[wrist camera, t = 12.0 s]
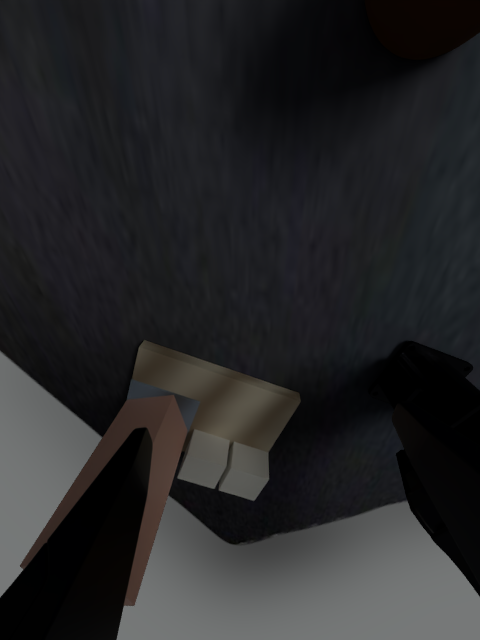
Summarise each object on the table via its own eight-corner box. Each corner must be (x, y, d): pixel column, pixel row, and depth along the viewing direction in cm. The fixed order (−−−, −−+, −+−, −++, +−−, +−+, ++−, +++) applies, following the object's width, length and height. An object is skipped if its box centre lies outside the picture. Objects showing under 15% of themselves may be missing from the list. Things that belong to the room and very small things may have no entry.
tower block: (173, 394, 25) (100, 565, 14) (187, 430, 27) (134, 605, 16) (127, 399, 26) (19, 565, 14) (144, 434, 28) (62, 604, 17)
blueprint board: (299, 393, 26) (301, 403, 25) (254, 463, 31) (254, 475, 30) (144, 340, 24) (138, 347, 23) (125, 423, 30) (119, 433, 28)
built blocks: (268, 452, 28) (269, 479, 26) (254, 473, 30) (254, 500, 27) (194, 429, 28) (187, 454, 25) (184, 452, 29) (177, 478, 27)
